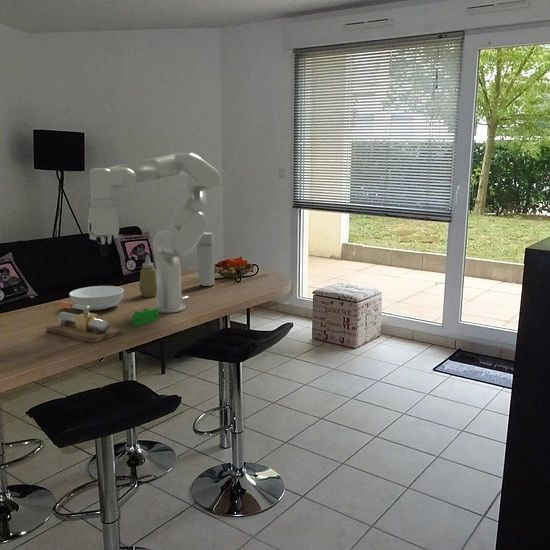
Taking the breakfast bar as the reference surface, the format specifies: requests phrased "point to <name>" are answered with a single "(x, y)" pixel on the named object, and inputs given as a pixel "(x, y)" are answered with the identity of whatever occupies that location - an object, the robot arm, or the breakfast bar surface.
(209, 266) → the water bottle
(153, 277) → the squeeze bottle
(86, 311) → the valve lever
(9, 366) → the breakfast bar surface
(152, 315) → the pipe clamp
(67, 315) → the valve and pipe
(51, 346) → the breakfast bar surface
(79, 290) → the serving bowl
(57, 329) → the valve stand
